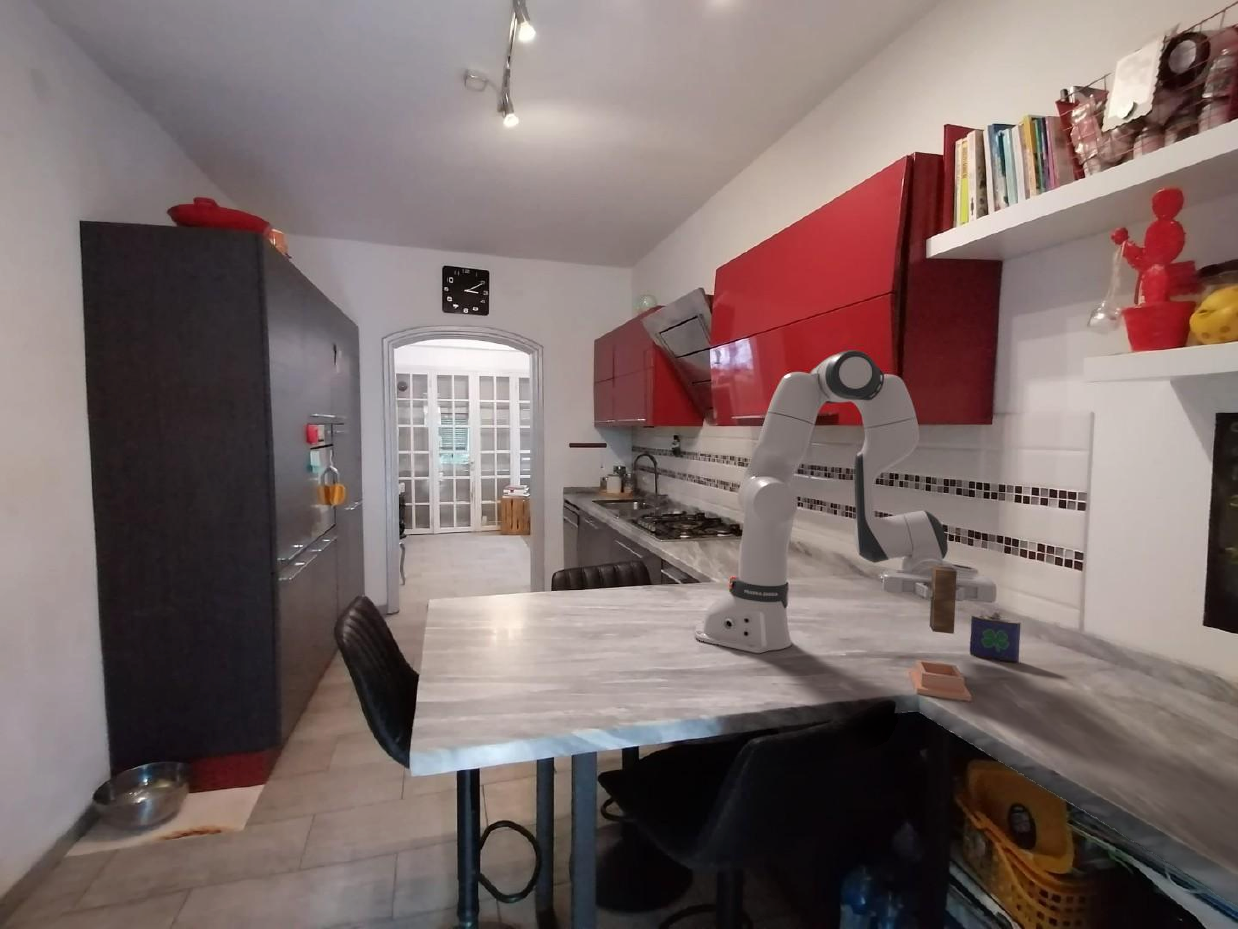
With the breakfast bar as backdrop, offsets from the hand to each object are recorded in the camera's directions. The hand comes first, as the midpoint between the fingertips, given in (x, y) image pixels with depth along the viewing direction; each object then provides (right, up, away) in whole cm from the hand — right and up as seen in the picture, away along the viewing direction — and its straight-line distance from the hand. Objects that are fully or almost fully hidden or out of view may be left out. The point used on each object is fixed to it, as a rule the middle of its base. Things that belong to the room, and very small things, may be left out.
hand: (944, 595), depth 108 cm
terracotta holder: (0, -18, +2) cm, 18 cm away
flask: (+21, -18, +18) cm, 33 cm away
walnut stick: (0, -7, +1) cm, 7 cm away
